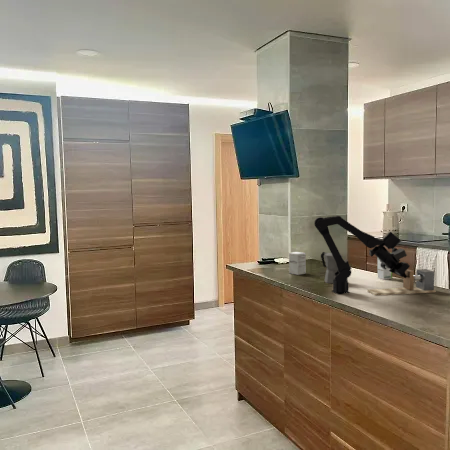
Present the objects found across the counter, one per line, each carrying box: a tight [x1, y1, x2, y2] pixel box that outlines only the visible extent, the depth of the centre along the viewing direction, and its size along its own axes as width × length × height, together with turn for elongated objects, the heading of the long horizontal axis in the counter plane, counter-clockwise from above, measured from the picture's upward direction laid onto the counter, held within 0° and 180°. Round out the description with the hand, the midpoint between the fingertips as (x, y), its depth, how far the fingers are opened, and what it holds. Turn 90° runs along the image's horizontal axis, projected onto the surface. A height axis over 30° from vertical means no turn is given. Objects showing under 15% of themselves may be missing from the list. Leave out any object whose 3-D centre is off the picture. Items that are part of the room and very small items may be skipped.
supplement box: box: [288, 251, 307, 276], centre depth 268 cm, size 7×7×13 cm
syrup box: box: [376, 256, 393, 280], centre depth 248 cm, size 6×6×14 cm
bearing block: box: [415, 268, 435, 291], centre depth 217 cm, size 5×7×9 cm
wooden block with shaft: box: [402, 268, 423, 290], centre depth 217 cm, size 12×6×9 cm, turn 97°
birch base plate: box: [367, 286, 436, 296], centre depth 216 cm, size 30×8×1 cm, turn 97°
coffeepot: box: [320, 251, 343, 284], centre depth 243 cm, size 15×9×18 cm, turn 33°
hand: (406, 277), depth 216 cm, fingers closed
